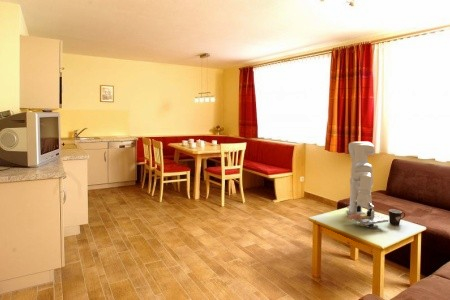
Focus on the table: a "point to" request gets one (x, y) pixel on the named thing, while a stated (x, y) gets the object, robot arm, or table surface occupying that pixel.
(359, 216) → the bracket
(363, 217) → the yellow block
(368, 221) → the square metal plate
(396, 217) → the coffee mug
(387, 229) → the table surface
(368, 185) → the robot arm
